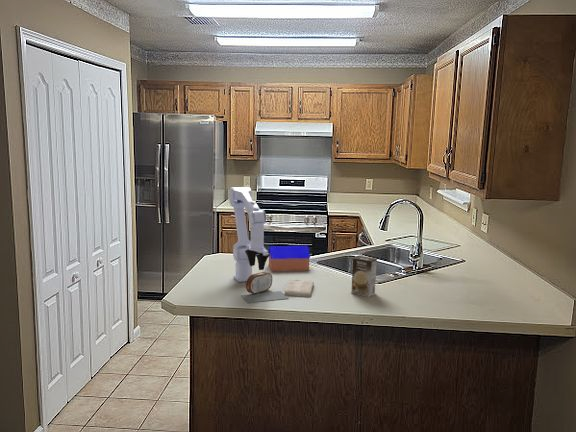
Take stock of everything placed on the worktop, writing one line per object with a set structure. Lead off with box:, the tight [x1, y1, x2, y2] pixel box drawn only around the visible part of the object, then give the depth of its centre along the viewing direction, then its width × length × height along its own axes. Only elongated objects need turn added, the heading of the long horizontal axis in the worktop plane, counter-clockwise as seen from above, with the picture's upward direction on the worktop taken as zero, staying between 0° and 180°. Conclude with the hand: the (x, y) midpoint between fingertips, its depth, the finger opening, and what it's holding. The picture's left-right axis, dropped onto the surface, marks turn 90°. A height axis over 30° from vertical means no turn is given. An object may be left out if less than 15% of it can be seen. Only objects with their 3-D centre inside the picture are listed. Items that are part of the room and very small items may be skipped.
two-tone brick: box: [267, 245, 311, 272], centre depth 264 cm, size 12×20×12 cm, turn 99°
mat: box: [240, 290, 289, 304], centre depth 218 cm, size 10×18×1 cm, turn 111°
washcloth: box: [283, 279, 315, 298], centre depth 229 cm, size 12×18×3 cm, turn 174°
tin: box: [245, 271, 273, 294], centre depth 224 cm, size 15×3×8 cm, turn 141°
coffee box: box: [350, 254, 378, 298], centre depth 225 cm, size 9×6×16 cm
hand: (256, 267), depth 227 cm, fingers open, 7 cm apart
